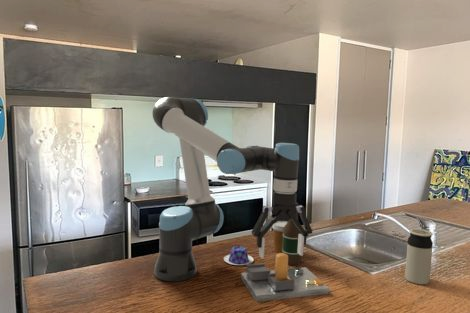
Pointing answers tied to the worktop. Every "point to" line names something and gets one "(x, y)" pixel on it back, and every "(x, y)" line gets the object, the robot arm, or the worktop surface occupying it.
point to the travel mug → (419, 256)
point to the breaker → (257, 271)
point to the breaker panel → (303, 287)
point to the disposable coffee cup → (278, 235)
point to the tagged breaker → (280, 283)
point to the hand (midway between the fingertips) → (280, 255)
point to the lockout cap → (281, 267)
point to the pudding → (238, 256)
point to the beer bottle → (291, 241)
